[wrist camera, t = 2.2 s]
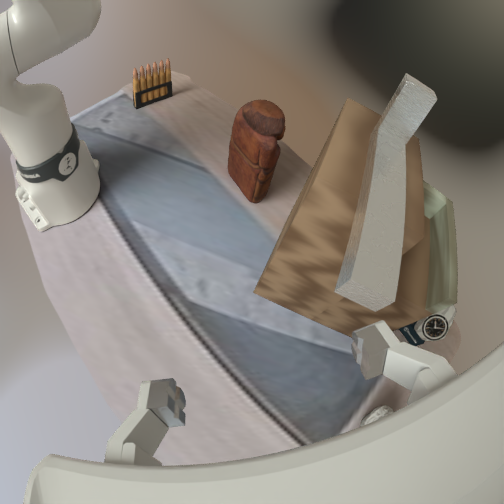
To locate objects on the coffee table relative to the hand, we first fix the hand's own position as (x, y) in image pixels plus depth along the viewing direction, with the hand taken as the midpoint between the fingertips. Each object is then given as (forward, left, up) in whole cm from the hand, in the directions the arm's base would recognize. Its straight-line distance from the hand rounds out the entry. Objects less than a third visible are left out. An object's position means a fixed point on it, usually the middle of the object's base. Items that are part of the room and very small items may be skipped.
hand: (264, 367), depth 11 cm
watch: (+29, +20, -28) cm, 45 cm away
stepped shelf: (+9, +22, -28) cm, 36 cm away
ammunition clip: (-45, +48, -28) cm, 71 cm away
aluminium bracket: (+4, +15, -2) cm, 15 cm away
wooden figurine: (-11, +34, -28) cm, 45 cm away
